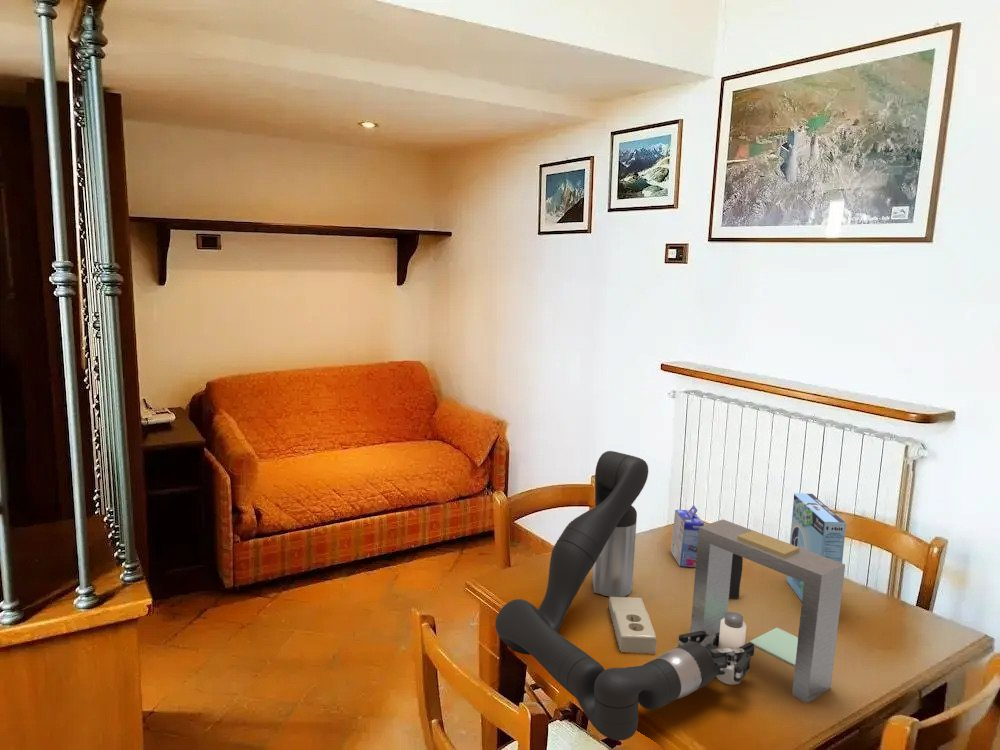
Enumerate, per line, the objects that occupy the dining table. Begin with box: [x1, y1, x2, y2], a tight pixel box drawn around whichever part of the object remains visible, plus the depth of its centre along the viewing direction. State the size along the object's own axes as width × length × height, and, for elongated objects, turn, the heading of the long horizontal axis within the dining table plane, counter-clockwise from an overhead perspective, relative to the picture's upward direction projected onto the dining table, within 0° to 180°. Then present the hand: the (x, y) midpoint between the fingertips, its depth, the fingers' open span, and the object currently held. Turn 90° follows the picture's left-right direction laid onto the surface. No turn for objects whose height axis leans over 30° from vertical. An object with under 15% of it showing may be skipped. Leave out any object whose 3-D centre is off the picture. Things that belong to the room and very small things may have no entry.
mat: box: [748, 627, 798, 667], centre depth 144 cm, size 10×10×1 cm
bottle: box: [715, 611, 747, 686], centre depth 132 cm, size 5×5×12 cm
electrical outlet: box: [608, 596, 658, 655], centre depth 149 cm, size 7×4×18 cm
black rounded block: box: [729, 553, 744, 599], centre depth 165 cm, size 7×4×11 cm, turn 87°
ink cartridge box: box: [670, 505, 705, 568], centre depth 184 cm, size 10×6×14 cm, turn 0°
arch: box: [689, 519, 846, 705], centre depth 136 cm, size 8×26×25 cm, turn 37°
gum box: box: [786, 492, 847, 602], centre depth 163 cm, size 20×5×23 cm, turn 176°
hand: (740, 641), depth 133 cm, fingers closed on bottle, 4 cm apart
